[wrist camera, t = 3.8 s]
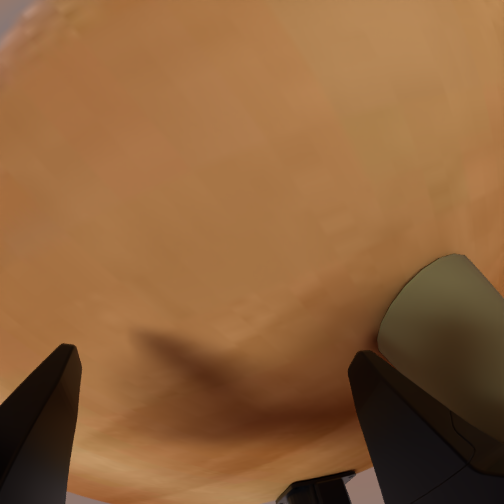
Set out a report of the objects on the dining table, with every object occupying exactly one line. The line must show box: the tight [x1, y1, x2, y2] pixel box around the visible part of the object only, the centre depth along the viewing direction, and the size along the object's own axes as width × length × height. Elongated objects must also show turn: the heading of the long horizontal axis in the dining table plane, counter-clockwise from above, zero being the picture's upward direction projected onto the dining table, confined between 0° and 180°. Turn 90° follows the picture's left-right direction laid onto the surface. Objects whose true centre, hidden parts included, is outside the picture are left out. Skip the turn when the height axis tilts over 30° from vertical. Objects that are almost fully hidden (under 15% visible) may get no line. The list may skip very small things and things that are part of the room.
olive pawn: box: [377, 254, 504, 444], centre depth 8 cm, size 6×6×11 cm
